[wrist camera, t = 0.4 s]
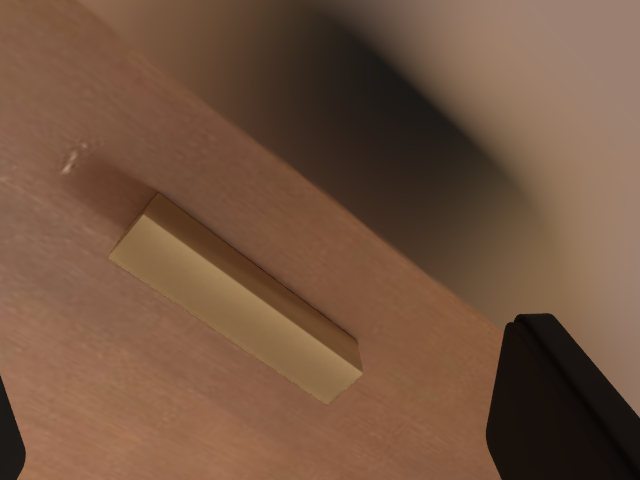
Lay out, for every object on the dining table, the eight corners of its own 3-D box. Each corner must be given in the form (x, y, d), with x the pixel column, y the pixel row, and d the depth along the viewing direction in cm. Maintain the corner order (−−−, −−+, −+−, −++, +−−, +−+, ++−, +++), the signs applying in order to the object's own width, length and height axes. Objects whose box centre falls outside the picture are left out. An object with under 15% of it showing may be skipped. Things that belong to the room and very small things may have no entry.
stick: (158, 191, 22) (142, 213, 19) (357, 341, 26) (364, 373, 23) (125, 231, 22) (106, 257, 20) (323, 371, 26) (327, 406, 24)
